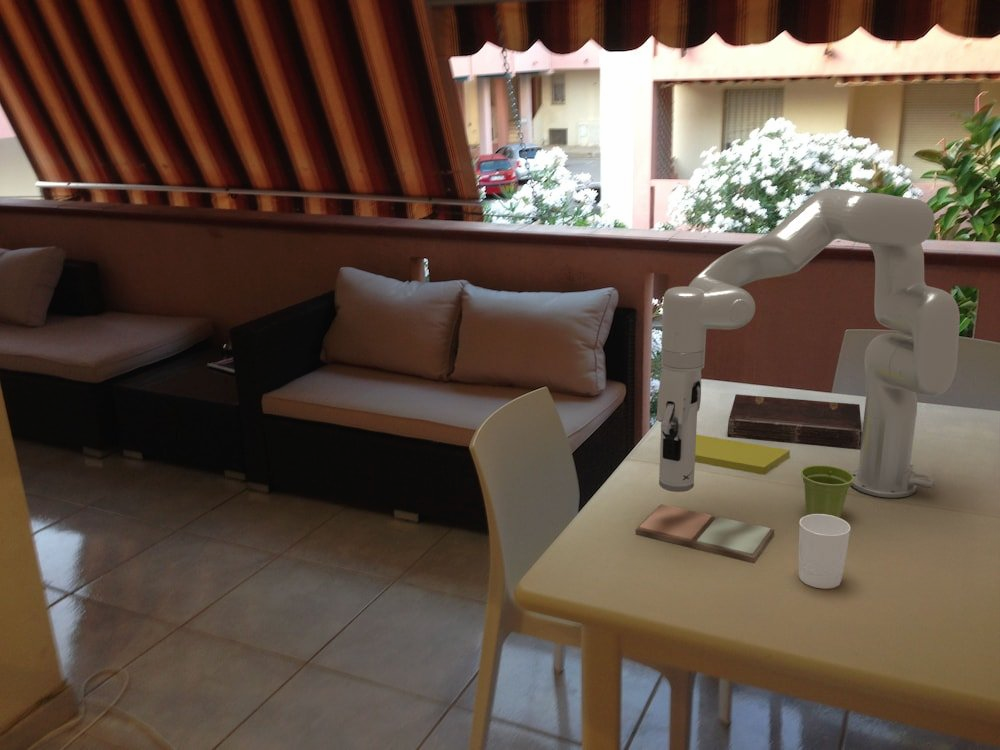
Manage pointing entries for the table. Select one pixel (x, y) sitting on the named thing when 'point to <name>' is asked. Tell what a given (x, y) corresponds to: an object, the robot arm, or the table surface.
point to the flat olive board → (738, 455)
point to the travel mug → (681, 472)
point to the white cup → (822, 550)
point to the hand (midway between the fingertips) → (678, 452)
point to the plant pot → (825, 489)
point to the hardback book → (796, 421)
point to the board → (706, 532)
